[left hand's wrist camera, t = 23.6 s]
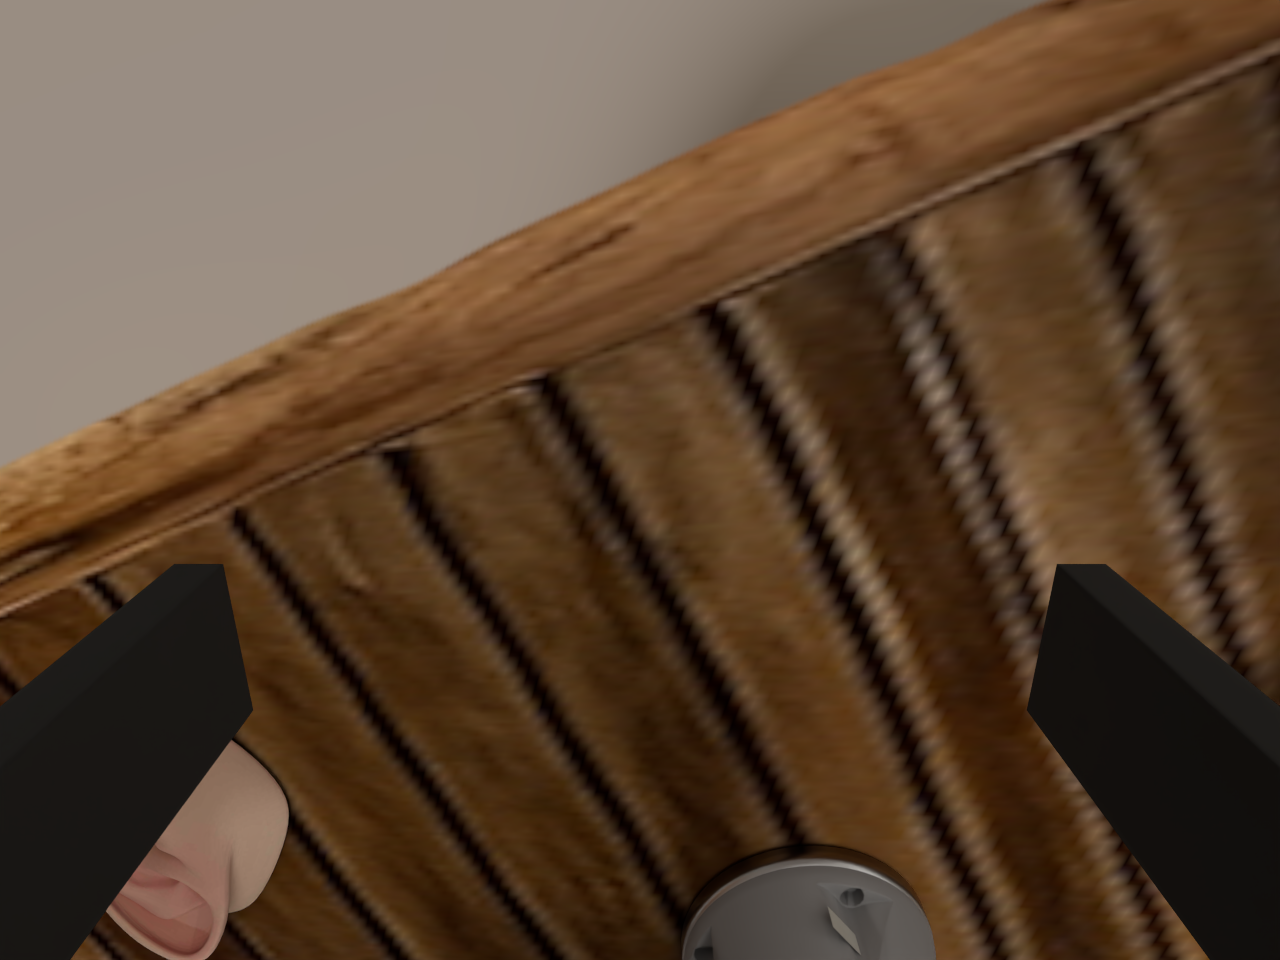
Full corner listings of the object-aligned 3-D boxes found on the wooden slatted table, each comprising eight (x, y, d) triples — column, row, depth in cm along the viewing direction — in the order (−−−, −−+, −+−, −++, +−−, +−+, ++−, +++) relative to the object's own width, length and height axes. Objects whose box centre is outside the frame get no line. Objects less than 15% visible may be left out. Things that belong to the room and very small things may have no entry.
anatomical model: (95, 738, 39) (306, 839, 42) (142, 689, 43) (333, 785, 45) (7, 903, 43) (204, 987, 45) (57, 846, 47) (237, 926, 49)
